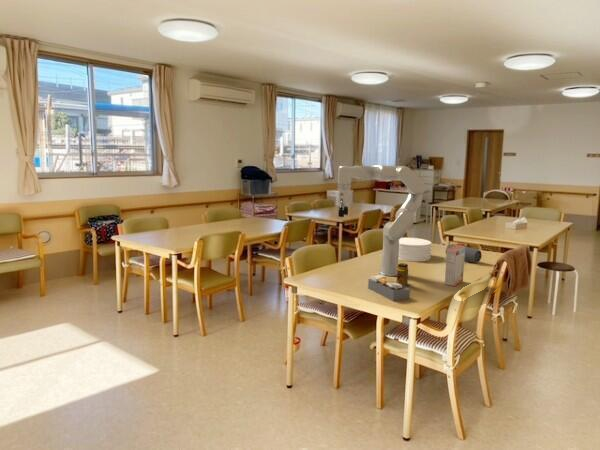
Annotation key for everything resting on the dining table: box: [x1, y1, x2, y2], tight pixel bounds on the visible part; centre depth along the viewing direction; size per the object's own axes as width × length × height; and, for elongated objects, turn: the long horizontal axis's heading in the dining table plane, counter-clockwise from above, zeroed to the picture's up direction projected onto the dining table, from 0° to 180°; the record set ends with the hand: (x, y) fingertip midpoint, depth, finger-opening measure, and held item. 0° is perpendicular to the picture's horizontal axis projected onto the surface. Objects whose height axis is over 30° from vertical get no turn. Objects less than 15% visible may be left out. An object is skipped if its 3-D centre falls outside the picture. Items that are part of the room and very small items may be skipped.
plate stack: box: [398, 237, 432, 262], centre depth 323 cm, size 28×28×12 cm
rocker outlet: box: [386, 282, 402, 289], centre depth 229 cm, size 6×4×2 cm
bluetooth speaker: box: [445, 244, 483, 263], centre depth 315 cm, size 23×9×10 cm, turn 37°
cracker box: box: [444, 244, 466, 287], centre depth 258 cm, size 14×6×21 cm, turn 141°
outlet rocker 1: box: [370, 273, 387, 282], centre depth 242 cm, size 6×4×2 cm
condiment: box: [396, 262, 412, 288], centre depth 253 cm, size 7×8×12 cm
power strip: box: [367, 278, 411, 302], centre depth 237 cm, size 10×23×5 cm, turn 24°
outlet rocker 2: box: [379, 278, 395, 284], centre depth 236 cm, size 6×4×2 cm
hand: (343, 215), depth 271 cm, fingers open, 9 cm apart
